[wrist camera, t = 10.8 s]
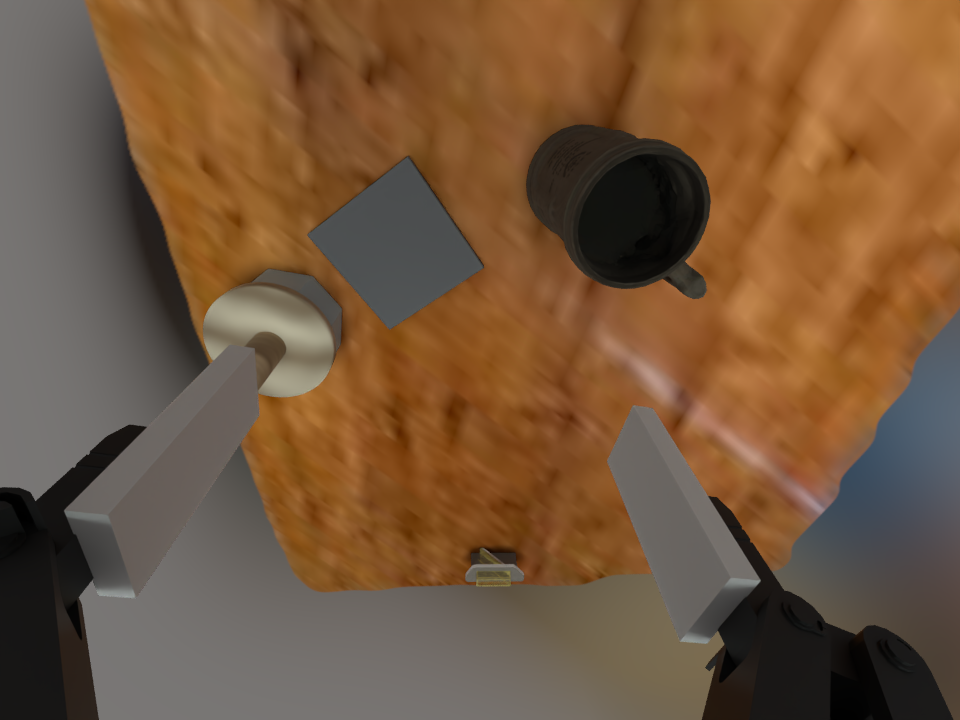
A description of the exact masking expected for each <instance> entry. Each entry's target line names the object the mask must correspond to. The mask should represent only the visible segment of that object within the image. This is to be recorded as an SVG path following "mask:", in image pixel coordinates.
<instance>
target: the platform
mask: <svg viewBox="0 0 960 720" xmlns="http://www.w3.org/2000/svg"><path fill="white" fill-rule="evenodd" d="M523 580H524V573H523V572H522V571H521V570H520V569H519V568H518V567H517V563H516V554H515V553H490V552H488V551H487V550H486V549H484V548H480V553H471V568H470V569H469V570H468V571H467V573H466V581H468V582H477V586H478V585H479V582H480V581H485V582H484V586H511V582H510V581H523ZM487 581H493V582H492V584H491V585H486V584H487ZM495 581H501V582H500V583H499V585H494V583H495ZM503 581H505V582H506V581H509V582H506V583H507V585H502V583H503Z"/></svg>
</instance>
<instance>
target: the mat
mask: <svg viewBox="0 0 960 720" xmlns="http://www.w3.org/2000/svg"><path fill="white" fill-rule="evenodd" d="M307 236H308V237H309V238H310V239H311V240H312V241H313V242H314V244H315V245H316V246H317V247H318V248H319V249H320V250H321V252H322V253H323V254H324V255H325V256H326V257H327V258H328V260H329V261H330V262H331V263H332V264H333V265H334V266H335V268H336V269H337V270H338V271H339V272H340V273H341V274H342V276H343V277H344V278H345V279H346V280H347V281H348V283H349V284H350V285H351V286H352V287H353V288H354V289H355V291H356V292H357V293H358V294H359V295H360V296H361V297H362V299H363V300H364V301H365V302H366V303H367V304H368V305H369V307H370V308H371V309H372V310H373V311H374V312H375V313H376V315H377V316H378V317H379V318H380V319H381V320H382V321H383V323H384V324H385V325H386V326H387V327H388V328H389V330H390V329H391V328H393V327H394V326H396V325H397V324H399V323H400V322H402V321H403V320H405V319H406V318H408V317H410V316H411V315H413V314H414V313H416V312H417V311H419V310H420V309H422V308H423V307H425V306H426V305H428V304H429V303H431V302H432V301H434V300H435V299H437V298H438V297H440V296H442V295H443V294H445V293H446V292H448V291H449V290H451V289H452V288H454V287H455V286H457V285H458V284H460V283H461V282H463V281H464V280H466V279H467V278H469V277H470V276H472V275H473V274H475V273H477V272H478V271H480V270H481V269H483V268H484V265H483V264H482V262H481V261H480V259H479V258H478V257H477V255H476V254H475V252H474V251H473V249H472V248H471V246H470V245H469V243H468V242H467V240H466V239H465V238H464V236H463V235H462V233H461V232H460V230H459V229H458V227H457V226H456V224H455V223H454V221H453V220H452V219H451V217H450V216H449V214H448V213H447V211H446V210H445V208H444V207H443V205H442V204H441V202H440V201H439V200H438V198H437V197H436V195H435V194H434V192H433V191H432V189H431V188H430V186H429V185H428V183H427V182H426V181H425V179H424V178H423V176H422V175H421V173H420V172H419V170H418V169H417V167H416V166H415V165H414V163H413V162H412V160H411V159H410V157H409V156H408V157H406V158H405V159H404V160H403V161H401V162H400V163H399V164H398V165H396V166H395V167H394V168H392V169H391V170H390V171H389V172H387V173H386V174H385V175H383V176H382V177H381V178H380V179H378V180H377V181H376V182H374V183H373V184H372V185H371V186H369V187H368V188H367V189H365V190H364V191H363V192H362V193H360V194H359V195H358V196H356V197H355V198H354V199H353V200H351V201H350V202H349V203H347V204H346V205H345V206H344V207H342V208H341V209H340V210H338V211H337V212H336V213H335V214H333V215H332V216H331V217H330V218H328V219H327V220H326V221H324V222H323V223H322V224H321V225H319V226H318V227H317V228H315V229H314V230H313V231H312V232H310V233H309V234H308V235H307Z"/></svg>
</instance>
